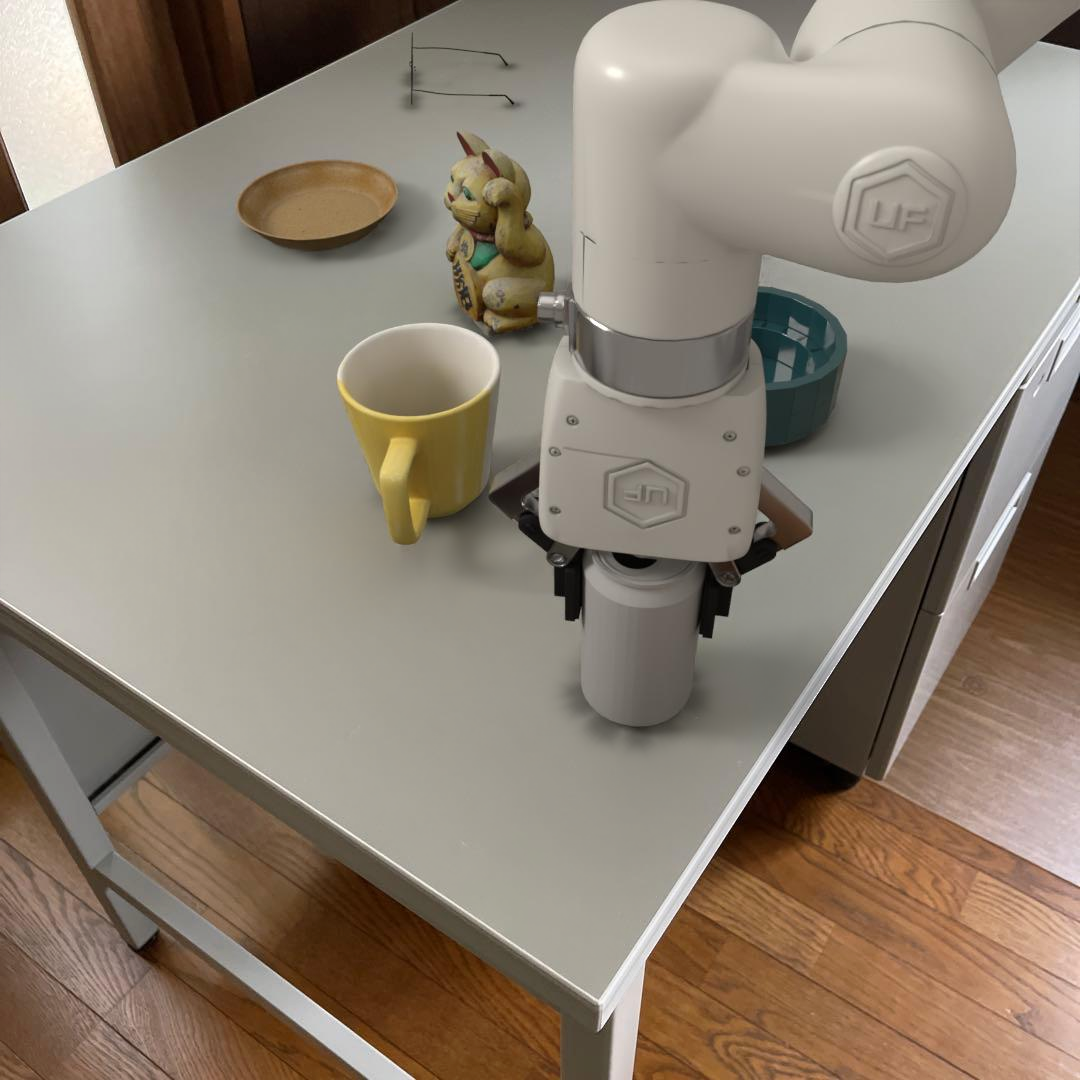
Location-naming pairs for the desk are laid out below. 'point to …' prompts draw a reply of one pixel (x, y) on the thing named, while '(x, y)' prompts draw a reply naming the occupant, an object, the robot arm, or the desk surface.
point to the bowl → (797, 362)
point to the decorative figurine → (495, 241)
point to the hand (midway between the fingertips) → (641, 607)
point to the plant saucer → (317, 203)
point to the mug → (423, 418)
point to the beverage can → (639, 634)
